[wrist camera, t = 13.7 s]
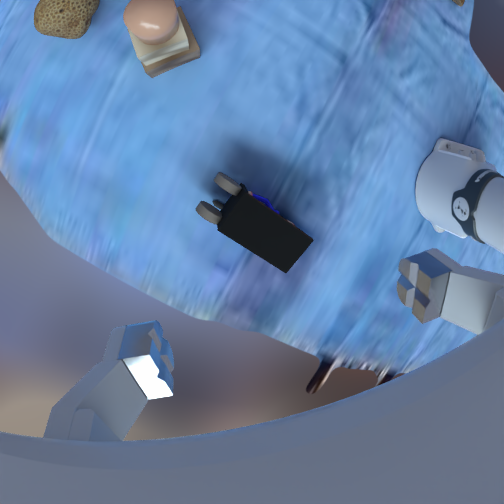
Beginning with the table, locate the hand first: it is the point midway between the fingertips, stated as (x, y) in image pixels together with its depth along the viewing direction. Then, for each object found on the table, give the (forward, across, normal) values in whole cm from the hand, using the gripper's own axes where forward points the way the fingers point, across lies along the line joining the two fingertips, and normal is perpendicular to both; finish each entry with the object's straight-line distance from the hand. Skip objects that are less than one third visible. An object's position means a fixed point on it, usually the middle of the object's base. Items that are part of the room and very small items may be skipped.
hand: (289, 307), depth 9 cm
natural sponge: (+34, -16, +28) cm, 47 cm away
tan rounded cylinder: (+24, -4, +18) cm, 31 cm away
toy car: (+34, +3, -8) cm, 36 cm away
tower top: (+29, -4, +18) cm, 35 cm away
